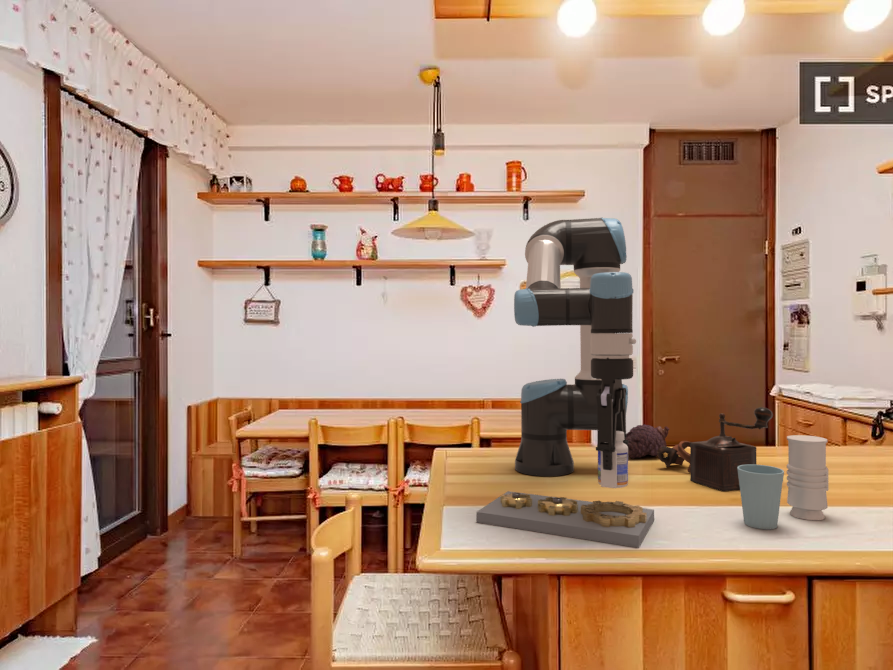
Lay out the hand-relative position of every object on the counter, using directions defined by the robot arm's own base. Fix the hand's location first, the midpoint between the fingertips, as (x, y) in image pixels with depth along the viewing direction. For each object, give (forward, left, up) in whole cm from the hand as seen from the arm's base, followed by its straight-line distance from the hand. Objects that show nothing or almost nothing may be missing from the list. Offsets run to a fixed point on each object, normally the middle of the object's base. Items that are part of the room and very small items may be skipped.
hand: (612, 482), depth 110 cm
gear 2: (0, 0, -6) cm, 6 cm away
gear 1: (-11, 0, -6) cm, 12 cm away
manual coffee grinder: (+18, +44, -9) cm, 48 cm away
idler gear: (-19, 0, -6) cm, 20 cm away
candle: (+32, +24, -9) cm, 41 cm away
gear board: (-9, 0, -8) cm, 12 cm away
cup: (+24, +14, -9) cm, 29 cm away
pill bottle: (0, 0, -1) cm, 1 cm away
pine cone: (-6, +65, -9) cm, 66 cm away
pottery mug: (+6, +53, -9) cm, 54 cm away
